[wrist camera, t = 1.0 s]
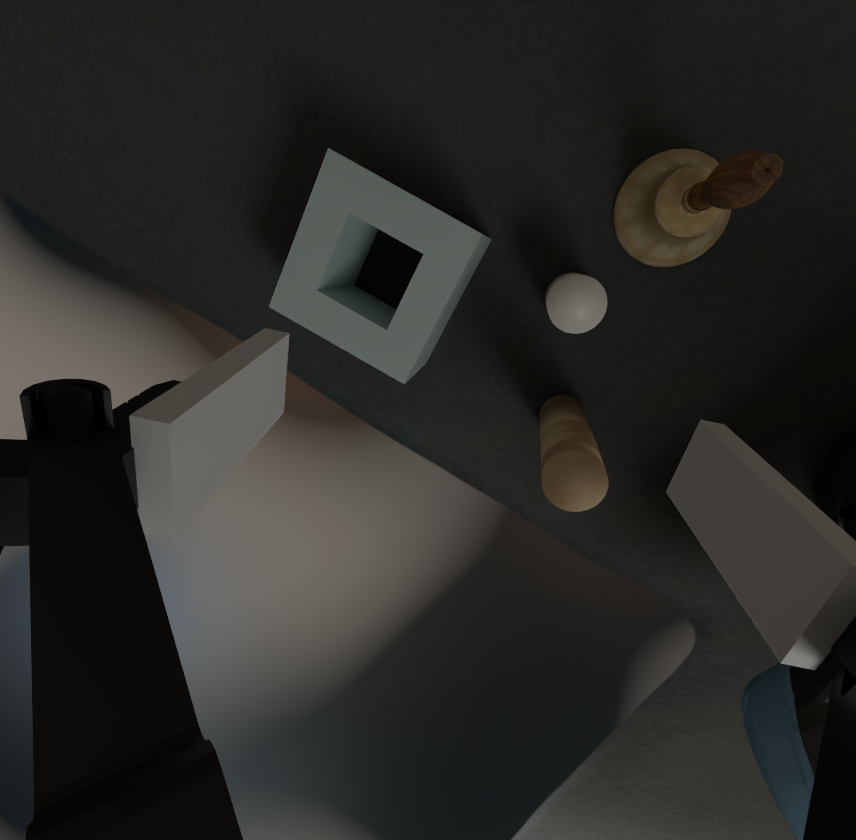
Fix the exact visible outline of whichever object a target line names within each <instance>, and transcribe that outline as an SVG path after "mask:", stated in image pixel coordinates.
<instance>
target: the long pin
mask: <svg viewBox="0 0 856 840" xmlns="http://www.w3.org/2000/svg"><path fill="white" fill-rule="evenodd" d="M539 424H540V449H541V473H542V488H543V491H544V494H545V496H546V497H547V499H548V500H549V501H550V502H551V503H552V504H553V505H555V506H556V507H558V508H560V509H563V510H566V511H571V512H579V511H585V510H588V509H591V508H593V507H594V506H596V505H597V504H598V503H600V502H601V500H602V499H603V498H604V496H605V495H606V493H607V490H608V476H607V473H606V470H605V467H604V464H603V461H602V458H601V455H600V452H599V450H598V447H597V444H596V441H595V438H594V435H593V432H592V429H591V427H590V424H589V421H588V418H587V415H586V412H585V409H584V407H583V405H582V404H581V402H580V401H579V400H577V399H576V398H574V397H572V396H569V395H556V396H553V397H551V398H549V399H548V400H547V401H546V402H545V403H544V404H543V405H542V407H541V409H540V413H539Z"/></svg>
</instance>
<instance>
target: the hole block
mask: <svg viewBox="0 0 856 840" xmlns="http://www.w3.org/2000/svg"><path fill="white" fill-rule="evenodd" d="M378 229H379V230H381V231H383V232H385V233H387V234H388V235H390V236H392V237H394V238H395V239H397V240H399V241H401V242H403V243H404V244H406V245H408V246H410V247H411V248H413V249H415V250H417V251H419V252H420V253H422V254H423V256H422V258H421V260H420V262H419V265H418V267H417V269H416V271H415V273H414V275H413V277H412V279H411V281H410V283H409V285H408V287H407V289H406V292H405V294H404V296H403V298H402V300H401V302H400V304H399V306H398V308H397V310H396V309H395V308H393V307H391V306H389V305H388V304H386V303H384V302H382V301H380V300H379V299H377V298H375V297H373V296H372V295H370V294H368V293H366V292H365V291H363V290H361V289H359V288H358V287H356V286H354V284H355V282H356V280H357V277H358V275H359V273H360V271H361V268H362V266H363V264H364V261H365V259H366V257H367V255H368V252H369V250H370V248H371V245H372V243H373V241H374V239H375V236H376V234H377V232H378ZM491 240H492V239H490V238H489V237H487V236H485V235H483V234H481V233H480V232H478V231H476V230H474V229H473V228H471V227H469V226H467V225H465V224H464V223H462V222H460V221H458V220H456V219H455V218H453V217H451V216H449V215H448V214H446V213H444V212H442V211H440V210H439V209H437V208H435V207H433V206H431V205H430V204H428V203H426V202H424V201H423V200H421V199H419V198H417V197H415V196H414V195H412V194H410V193H408V192H406V191H405V190H403V189H401V188H399V187H398V186H396V185H394V184H392V183H390V182H389V181H387V180H385V179H383V178H381V177H380V176H378V175H376V174H374V173H373V172H371V171H369V170H367V169H365V168H364V167H362V166H360V165H358V164H356V163H355V162H353V161H351V160H349V159H347V158H346V157H344V156H342V155H340V154H338V153H337V152H335V151H333V150H331V149H329V148H328V150H327V153H326V155H325V158H324V161H323V163H322V166H321V169H320V171H319V174H318V177H317V179H316V182H315V185H314V187H313V190H312V193H311V195H310V198H309V201H308V203H307V206H306V209H305V211H304V214H303V217H302V219H301V222H300V225H299V228H298V230H297V233H296V236H295V238H294V241H293V244H292V246H291V249H290V252H289V254H288V257H287V260H286V262H285V265H284V268H283V270H282V273H281V276H280V278H279V281H278V284H277V286H276V289H275V292H274V294H273V297H272V300H271V302H270V305H269V307H270V308H272V309H273V310H275V311H277V312H279V313H280V314H282V315H284V316H286V317H287V318H289V319H291V320H293V321H294V322H296V323H298V324H300V325H301V326H303V327H305V328H307V329H308V330H310V331H312V332H314V333H315V334H317V335H319V336H321V337H322V338H324V339H326V340H328V341H329V342H331V343H333V344H335V345H336V346H338V347H340V348H342V349H343V350H345V351H347V352H349V353H350V354H352V355H354V356H356V357H357V358H359V359H361V360H363V361H364V362H366V363H368V364H370V365H371V366H373V367H375V368H377V369H378V370H380V371H382V372H384V373H385V374H387V375H389V376H391V377H392V378H394V379H396V380H398V381H399V382H401V383H403V384H405V383H406V382H407V381H408V380H409V379H410V378H411V377H412V376H413V375H414V374H415V373H417V372H418V371H419V370H420V369H421V368H422V367H423V366H424V365H425V364H426V362H427V360H428V359H429V357H430V355H431V353H432V351H433V349H434V347H435V345H436V343H437V342H438V340H439V338H440V336H441V334H442V332H443V330H444V328H445V326H446V325H447V323H448V321H449V319H450V317H451V315H452V313H453V311H454V310H455V308H456V306H457V304H458V302H459V300H460V298H461V296H462V294H463V293H464V291H465V289H466V287H467V285H468V283H469V281H470V279H471V277H472V276H473V274H474V272H475V270H476V268H477V266H478V264H479V262H480V261H481V259H482V257H483V255H484V253H485V251H486V249H487V247H488V245H489V244H490V242H491Z"/></svg>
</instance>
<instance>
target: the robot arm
mask: <svg viewBox="0 0 856 840" xmlns="http://www.w3.org/2000/svg"><path fill="white" fill-rule="evenodd" d="M288 345H289V333H286V332H281V331H276V330H271V329H267V328H265V329H263V330H261V331H260V332H258V333H257V334H255V335H254V336H252V337H251V338H249V339H247V340H246V341H244V342H243V343H241V344H240V345H238V346H237V347H235V348H233V349H232V350H231V351H229V352H227V353H226V354H224V355H223V356H221V357H220V358H218V359H216V360H215V361H213V362H212V363H210V364H209V365H207V366H206V367H204V368H202V369H201V370H199V371H198V372H196V373H195V374H193V375H192V376H190V377H188V378H187V379H185V380H184V381H182V382H181V381H176V380H172V381H168V382H165V383H161V384H157V385H154V386H152V387H150V388H148V389H147V390H145V391H143V392H142V393H140V394H139V396H135V397H133V398H132V399H130V400H129V401H128V403H126V402H125V403H123V404H122V405H120V406H118V407H117V408H115V409H113V410H112V403H111V392H110V389H109V388H108V387H107V386H106V385H104V384H101V383H99V382H96V381H91V380H83V379H59V380H50V381H45V382H42V383H38V384H34V385H32V386H30V387H28V388H26V389H24V390H23V392H22V393H21V395H20V401H21V407H22V412H23V418H24V423H25V429H26V434H27V440H10V439H0V554H1V551H2V550H3V547H4V546H28V545H29V552H30V553H29V554H30V607H31V659H32V706H33V707H32V709H33V759H34V816H33V821H32V822H31V823H30V824H29V825H28V827H27V833H26V840H243V838H242V835H241V832H240V828H239V825H238V822H237V818H236V815H235V812H234V808H233V805H232V802H231V798H230V795H229V792H228V788H227V785H226V782H225V778H224V775H223V772H222V769H221V766H220V763H219V760H218V757H217V754H216V751H215V749H214V747H213V745H212V743H211V741H210V740H204V738H203V736H202V734H201V731H200V728H199V725H198V721H197V718H196V714H195V711H194V707H193V704H192V700H191V697H190V693H189V690H188V686H187V683H186V679H185V676H184V672H183V669H182V665H181V662H180V659H179V655H178V651H177V648H176V645H175V641H174V637H173V634H172V630H171V627H170V623H169V620H168V616H167V613H166V609H165V606H164V602H163V599H162V595H161V592H160V588H159V585H158V581H157V578H156V574H155V570H154V567H153V564H152V560H151V556H150V553H149V549H148V546H147V543H146V539H145V536H144V534H149V535H154V536H159V537H163V538H168V539H173V540H175V538H176V537H177V536H178V535H179V534H180V533H181V532H182V530H183V529H184V528H185V527H186V526H187V525H188V523H189V522H190V521H191V520H192V519H193V518H194V516H195V515H196V514H197V513H198V512H199V511H200V509H201V508H202V507H203V506H204V505H205V504H206V502H207V501H208V500H209V499H210V498H211V497H212V495H213V494H214V493H215V492H216V491H217V490H218V488H219V487H220V486H221V485H222V484H223V482H224V481H225V480H226V479H227V478H228V476H229V475H231V473H232V472H233V471H234V470H235V468H237V466H238V465H239V464H240V463H241V461H243V459H244V458H245V457H246V456H247V455H248V454H249V452H250V451H251V450H252V449H253V448H254V447H255V445H256V444H257V443H258V442H259V441H260V440H261V438H262V437H263V436H264V435H265V434H266V432H267V431H268V430H269V429H270V428H271V427H272V426H273V424H274V423H275V422H276V421H277V420H278V418H279V417H280V416H281V415H282V414H283V413H284V401H285V386H286V373H287V359H288ZM666 493H667V495H668V496H669V498H670V499H671V501H672V502H673V504H674V505H675V507H676V508H677V510H678V511H679V513H680V514H681V516H682V517H683V519H684V520H685V522H686V523H687V524H688V526H689V527H690V529H691V530H692V532H693V533H694V535H695V536H696V538H697V539H698V541H699V542H700V544H701V545H702V547H703V548H704V550H705V551H706V553H707V554H708V556H709V557H710V559H711V560H712V562H713V563H714V565H715V566H716V568H717V569H718V571H719V572H720V574H721V575H722V577H723V578H724V580H725V581H726V583H727V584H728V586H729V587H730V589H731V590H732V592H733V593H734V595H735V596H736V598H737V599H738V601H739V602H740V604H741V605H742V607H743V608H744V610H745V611H746V613H747V614H748V616H749V617H750V619H751V620H752V622H753V623H754V625H755V626H756V628H757V629H758V631H759V632H760V634H761V635H762V637H763V638H764V639H765V641H766V642H767V644H768V645H769V647H770V648H771V650H772V651H773V653H774V654H775V656H776V657H777V659H778V660H779V663H778V664H776V665H774V666H773V667H771V668H769V669H767V670H766V671H764V672H762V673H761V674H759V675H757V676H756V677H754V678H753V679H752V680H751V681H750V682H749V683H748V684H747V686H746V687H745V689H744V692H743V696H742V712H743V717H744V725H745V729H746V733H747V736H748V740H749V743H750V746H751V749H752V751H753V754H754V757H755V759H756V761H757V764H758V766H759V769H760V771H761V773H762V776H763V778H764V780H765V782H766V784H767V786H768V788H769V791H770V793H771V795H772V797H773V799H774V800H775V802H776V804H777V806H778V808H779V810H780V812H781V814H782V816H783V817H784V819H785V821H786V823H787V825H788V826H789V828H790V830H791V832H792V833H793V835H794V837H795V838H796V840H856V424H855V425H854V426H853V427H852V428H850V429H849V430H848V431H847V432H846V433H845V434H844V435H843V436H842V437H841V438H840V439H839V441H838V442H837V443H836V444H835V445H834V447H833V448H832V450H831V451H830V453H829V454H828V456H827V458H826V460H825V462H824V464H823V466H822V469H821V472H820V475H819V479H818V486H817V500H818V506H819V508H818V507H817V506H816V505H815V504H813V503H812V502H811V501H810V500H809V499H808V498H807V497H806V496H804V495H803V494H802V493H801V492H800V491H799V490H798V489H796V488H795V487H794V486H793V485H792V484H791V483H790V482H789V481H787V480H786V479H785V478H784V477H783V476H782V475H781V474H780V473H778V472H777V471H776V470H775V469H774V468H773V467H772V466H771V465H769V464H768V463H767V462H766V461H765V460H764V459H763V458H762V457H760V456H759V455H758V454H757V453H756V452H755V451H754V450H753V449H751V448H750V447H749V446H748V445H747V444H746V443H745V442H744V441H742V440H741V439H740V438H739V437H738V436H737V435H736V434H735V433H733V432H732V431H731V430H730V429H729V428H728V427H727V426H726V425H724V424H720V423H715V422H710V421H705V420H700V422H699V424H698V426H697V428H696V430H695V432H694V434H693V436H692V438H691V440H690V443H689V445H688V447H687V449H686V451H685V453H684V455H683V457H682V459H681V461H680V463H679V465H678V467H677V469H676V472H675V474H674V476H673V478H672V480H671V482H670V484H669V486H668V488H667V490H666Z"/></svg>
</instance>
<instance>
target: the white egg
mask: <svg viewBox="0 0 856 840" xmlns="http://www.w3.org/2000/svg"><path fill="white" fill-rule="evenodd" d="M545 304H546V308H547V311H548V314H549V317H550V319H551V321H552V323H553V324H554V325H555V326H556V327H557V328H559V329H560V330H562V331H564V332H567V333H571V334H579V333H584V332H587V331H589V330H591V329H592V328H594V327H595V326H596V325H598V323H599V322H600V321H601V320H602V318H603V317H604V315H605V312H606V309H607V295H606V292H605V290H604V288H603V286H602V285H601V284H600V283H599V282H598V281H597V280H595V279H594V278H592V277H590V276H586V275H582V274H579V273H565V274H562V275H560V276H558V277H557V278H555V279H554V280H553V281H552V282H551V283H550V285H549V286H548V288H547V291H546V294H545Z"/></svg>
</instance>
